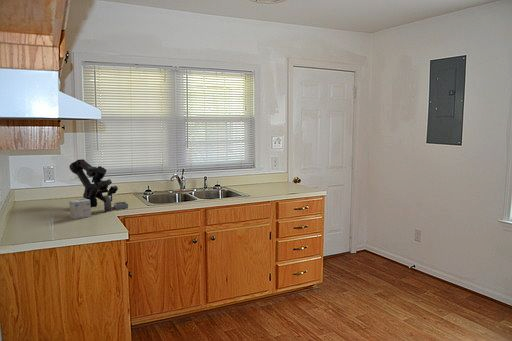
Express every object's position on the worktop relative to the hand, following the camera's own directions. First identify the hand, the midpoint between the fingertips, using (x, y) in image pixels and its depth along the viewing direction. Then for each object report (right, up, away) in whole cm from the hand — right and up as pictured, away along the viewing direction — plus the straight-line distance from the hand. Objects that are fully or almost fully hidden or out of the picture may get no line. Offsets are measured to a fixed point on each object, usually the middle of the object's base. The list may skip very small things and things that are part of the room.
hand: (108, 201), depth 266 cm
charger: (-1, -6, +2) cm, 7 cm away
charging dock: (+4, -5, +11) cm, 13 cm away
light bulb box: (-12, -9, -14) cm, 21 cm away
